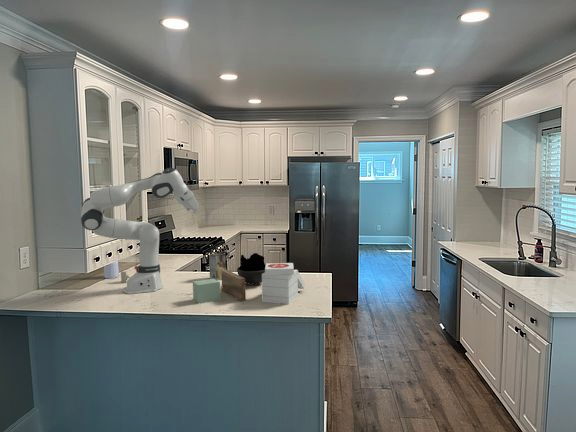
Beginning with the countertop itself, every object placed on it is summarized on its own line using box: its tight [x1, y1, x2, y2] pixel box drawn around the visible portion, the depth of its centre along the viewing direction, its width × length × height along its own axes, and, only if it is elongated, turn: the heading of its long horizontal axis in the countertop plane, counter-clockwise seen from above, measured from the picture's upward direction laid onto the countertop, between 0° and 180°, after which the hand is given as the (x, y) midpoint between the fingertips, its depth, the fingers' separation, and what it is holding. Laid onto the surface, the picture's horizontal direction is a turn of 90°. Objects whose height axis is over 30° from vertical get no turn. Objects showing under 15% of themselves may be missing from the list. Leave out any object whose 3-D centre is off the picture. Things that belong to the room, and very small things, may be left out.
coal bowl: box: [236, 252, 266, 286], centre depth 266 cm, size 20×20×19 cm
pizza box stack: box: [261, 262, 306, 305], centre depth 238 cm, size 19×30×18 cm, turn 160°
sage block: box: [192, 278, 221, 304], centre depth 234 cm, size 12×9×10 cm
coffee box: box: [208, 252, 227, 281], centre depth 282 cm, size 9×6×16 cm
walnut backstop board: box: [221, 269, 247, 302], centre depth 242 cm, size 3×26×12 cm, turn 30°
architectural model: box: [120, 270, 131, 284], centre depth 277 cm, size 3×7×7 cm, turn 52°
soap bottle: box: [103, 260, 120, 279], centre depth 290 cm, size 9×9×25 cm
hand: (192, 211), depth 256 cm, fingers open, 8 cm apart
